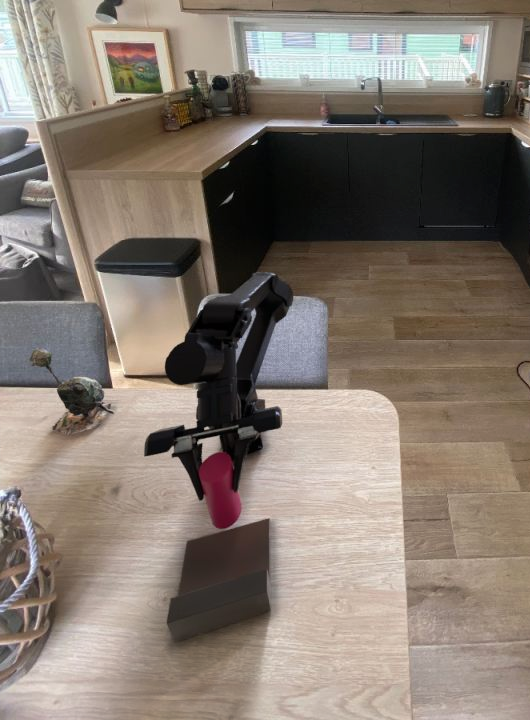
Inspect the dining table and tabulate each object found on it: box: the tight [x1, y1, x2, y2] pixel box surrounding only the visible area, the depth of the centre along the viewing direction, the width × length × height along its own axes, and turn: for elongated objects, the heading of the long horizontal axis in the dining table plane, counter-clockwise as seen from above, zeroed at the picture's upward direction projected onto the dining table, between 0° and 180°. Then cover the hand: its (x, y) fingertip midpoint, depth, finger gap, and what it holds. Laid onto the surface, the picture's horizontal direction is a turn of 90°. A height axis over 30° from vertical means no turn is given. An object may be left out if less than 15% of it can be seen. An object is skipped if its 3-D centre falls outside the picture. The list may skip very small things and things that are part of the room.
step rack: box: [165, 517, 272, 643], centre depth 55 cm, size 10×12×5 cm
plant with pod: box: [28, 347, 116, 436], centre depth 75 cm, size 8×11×20 cm
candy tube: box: [199, 451, 243, 530], centre depth 58 cm, size 4×4×11 cm
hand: (219, 495), depth 56 cm, fingers closed on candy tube, 4 cm apart
